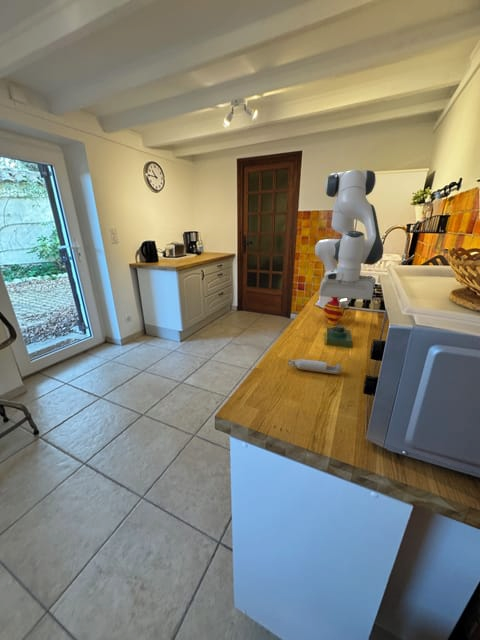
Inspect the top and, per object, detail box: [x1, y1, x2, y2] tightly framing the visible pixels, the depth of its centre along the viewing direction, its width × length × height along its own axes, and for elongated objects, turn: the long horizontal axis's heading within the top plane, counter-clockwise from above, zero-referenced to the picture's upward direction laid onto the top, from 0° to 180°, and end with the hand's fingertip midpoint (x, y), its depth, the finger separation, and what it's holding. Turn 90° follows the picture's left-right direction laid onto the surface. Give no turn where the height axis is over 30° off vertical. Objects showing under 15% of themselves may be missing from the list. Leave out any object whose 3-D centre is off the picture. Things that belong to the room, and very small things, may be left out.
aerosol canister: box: [287, 358, 342, 375], centre depth 88 cm, size 18×5×6 cm, turn 75°
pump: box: [334, 324, 345, 332], centre depth 109 cm, size 4×4×2 cm
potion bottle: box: [322, 297, 345, 325], centre depth 127 cm, size 10×10×15 cm
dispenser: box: [325, 326, 353, 348], centre depth 110 cm, size 12×10×5 cm
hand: (342, 307), depth 105 cm, fingers closed
